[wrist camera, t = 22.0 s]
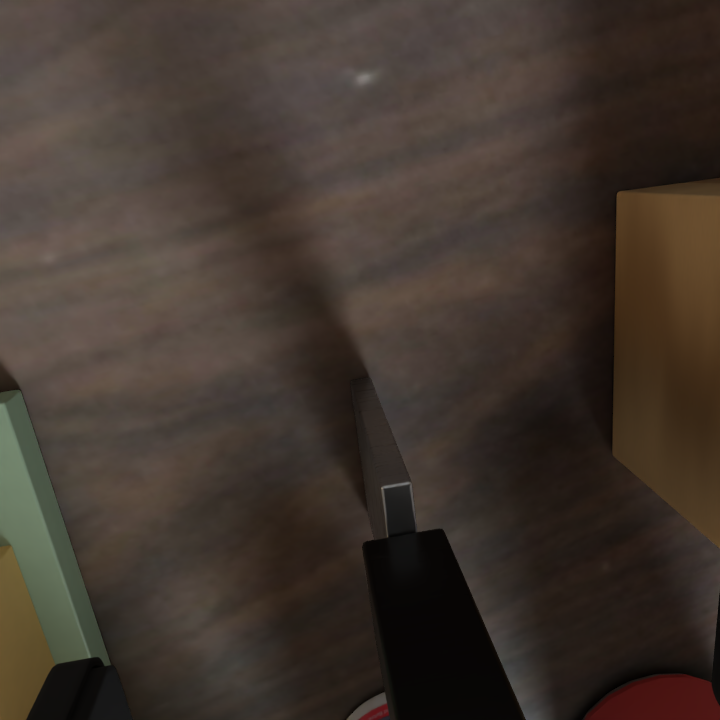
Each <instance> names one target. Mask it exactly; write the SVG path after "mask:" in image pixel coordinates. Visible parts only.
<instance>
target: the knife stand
mask: <svg viewBox="0 0 720 720" xmlns="http://www.w3.org/2000/svg"><path fill="white" fill-rule="evenodd" d="M612 454H613V456H614V457H615V458H616V459H617V460H618V461H619V462H621V463H622V464H623V465H624V466H625V467H626V468H628V469H629V470H630V471H631V472H632V473H633V474H634V475H636V476H637V477H638V478H639V479H640V480H641V481H643V482H644V483H645V484H646V485H647V486H648V487H649V488H651V489H652V490H653V491H654V492H655V493H656V494H657V495H659V496H660V497H661V498H662V499H663V500H664V501H666V502H667V503H668V504H669V505H670V506H671V507H672V508H674V509H675V510H676V511H677V512H678V513H679V514H681V515H682V516H683V517H684V518H685V519H686V520H687V521H689V522H690V523H691V524H692V525H693V526H694V527H695V528H697V529H698V530H699V531H700V532H701V533H702V534H704V535H705V536H706V537H707V538H708V539H709V540H710V541H712V542H713V543H714V544H715V545H716V546H717V547H719V548H720V178H714V179H706V180H699V181H692V182H687V183H677V184H670V185H663V186H655V187H648V188H641V189H633V190H626V191H620V192H618V193H617V204H616V265H615V325H614V385H613V445H612Z"/></svg>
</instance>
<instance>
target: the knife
mask: <svg viewBox="0 0 720 720" xmlns="http://www.w3.org/2000/svg"><path fill="white" fill-rule="evenodd" d="M350 385H351V393H352V400H353V407H354V414H355V422H356V429H357V436H358V443H359V451H360V458H361V465H362V473H363V480H364V487H365V494H366V502H367V509H368V516H369V520H370V525H371V529H372V533H373V538H374V540H371V541H366V542H364V543H363V546H362V550H363V557H364V564H365V571H366V578H367V585H368V592H369V599H370V605H371V612H372V619H373V626H374V633H375V640H376V646H377V651H378V656H379V662H380V667H381V673H382V678H383V684H384V689H385V695H386V700H387V706H388V711H389V717H390V720H526V719H525V717H524V715H523V712H522V710H521V708H520V705H519V703H518V701H517V698H516V696H515V694H514V691H513V689H512V687H511V684H510V682H509V680H508V678H507V675H506V673H505V671H504V668H503V666H502V664H501V661H500V659H499V657H498V654H497V652H496V650H495V647H494V645H493V643H492V641H491V638H490V636H489V634H488V631H487V629H486V627H485V624H484V622H483V620H482V617H481V615H480V613H479V610H478V608H477V606H476V604H475V601H474V599H473V597H472V594H471V592H470V590H469V587H468V585H467V583H466V580H465V578H464V576H463V573H462V571H461V569H460V567H459V564H458V562H457V560H456V557H455V555H454V553H453V550H452V548H451V546H450V543H449V541H448V539H447V536H446V534H445V532H444V530H443V529H433V530H428V531H422V532H417V524H416V514H415V505H414V496H413V487H412V482H411V479H410V477H409V474H408V472H407V469H406V466H405V464H404V461H403V459H402V456H401V454H400V451H399V449H398V446H397V444H396V441H395V439H394V436H393V434H392V431H391V429H390V426H389V423H388V421H387V418H386V416H385V413H384V411H383V408H382V406H381V403H380V401H379V398H378V396H377V393H376V391H375V388H374V386H373V383H372V380H371V378H369V377H368V378H362V379H356V380H351V381H350Z"/></svg>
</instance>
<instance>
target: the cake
mask: <svg viewBox="0 0 720 720" xmlns="http://www.w3.org/2000/svg"><path fill="white" fill-rule="evenodd" d="M54 666H55V663H54V660H53V657H52V655H51V652H50V649H49V646H48V644H47V641H46V638H45V636H44V633H43V630H42V627H41V625H40V622H39V619H38V617H37V614H36V611H35V608H34V606H33V603H32V600H31V597H30V595H29V592H28V589H27V587H26V584H25V581H24V578H23V576H22V573H21V570H20V568H19V565H18V562H17V559H16V557H15V554H14V551H13V549H12V546H11V545H8V546H2V547H0V720H26V719H27V717H28V714H29V712H30V710H31V708H32V706H33V704H34V702H35V700H36V698H37V696H38V694H39V692H40V690H41V688H42V686H43V684H44V682H45V680H46V678H47V676H48V674H49V672H50V670H51V669H52V667H54Z"/></svg>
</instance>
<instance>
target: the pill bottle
mask: <svg viewBox="0 0 720 720" xmlns="http://www.w3.org/2000/svg"><path fill="white" fill-rule="evenodd" d="M347 720H390V717H389V711H388V706H387V700H386V695H385V692H383V693H381V694H379V695H376V696H375V697H373V698H371V699H369V700H368V701H366V702H365V703H363V704H362V705H360V706H359V707H358V708H357V709H356V710H355V711H354V712H353V713H352V714H351V715H350V716H349V717H348V719H347Z"/></svg>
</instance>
